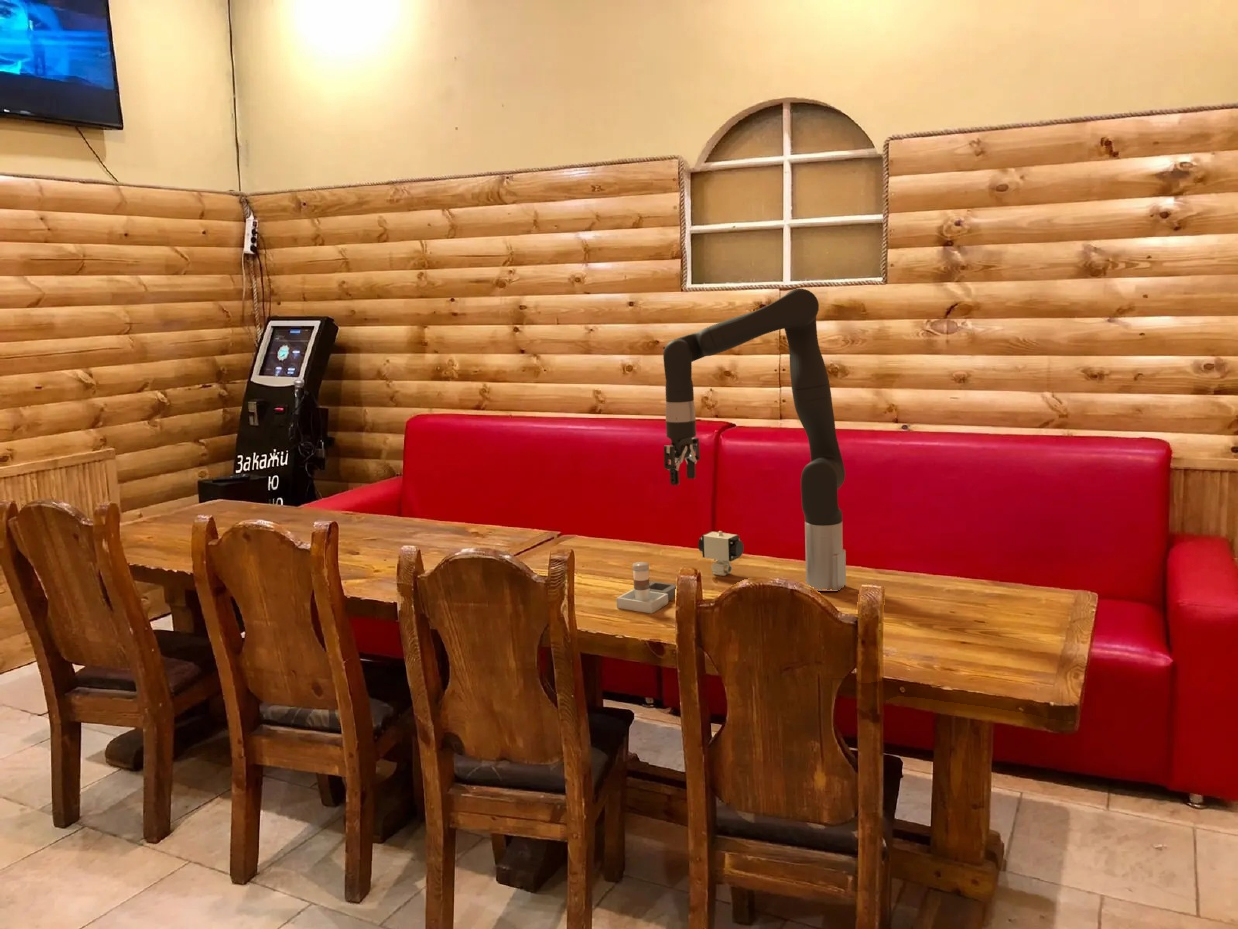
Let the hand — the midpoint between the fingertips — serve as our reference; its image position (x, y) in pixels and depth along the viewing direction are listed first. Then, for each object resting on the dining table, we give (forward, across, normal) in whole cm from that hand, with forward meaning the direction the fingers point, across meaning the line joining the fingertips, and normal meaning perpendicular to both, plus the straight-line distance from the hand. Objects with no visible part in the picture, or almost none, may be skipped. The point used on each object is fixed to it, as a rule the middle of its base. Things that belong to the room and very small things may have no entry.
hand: (683, 481), depth 242 cm
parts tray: (+28, -18, +3) cm, 33 cm away
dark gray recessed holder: (+28, -10, +3) cm, 30 cm away
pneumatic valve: (+28, +14, -3) cm, 32 cm away
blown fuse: (+28, -17, +3) cm, 33 cm away
